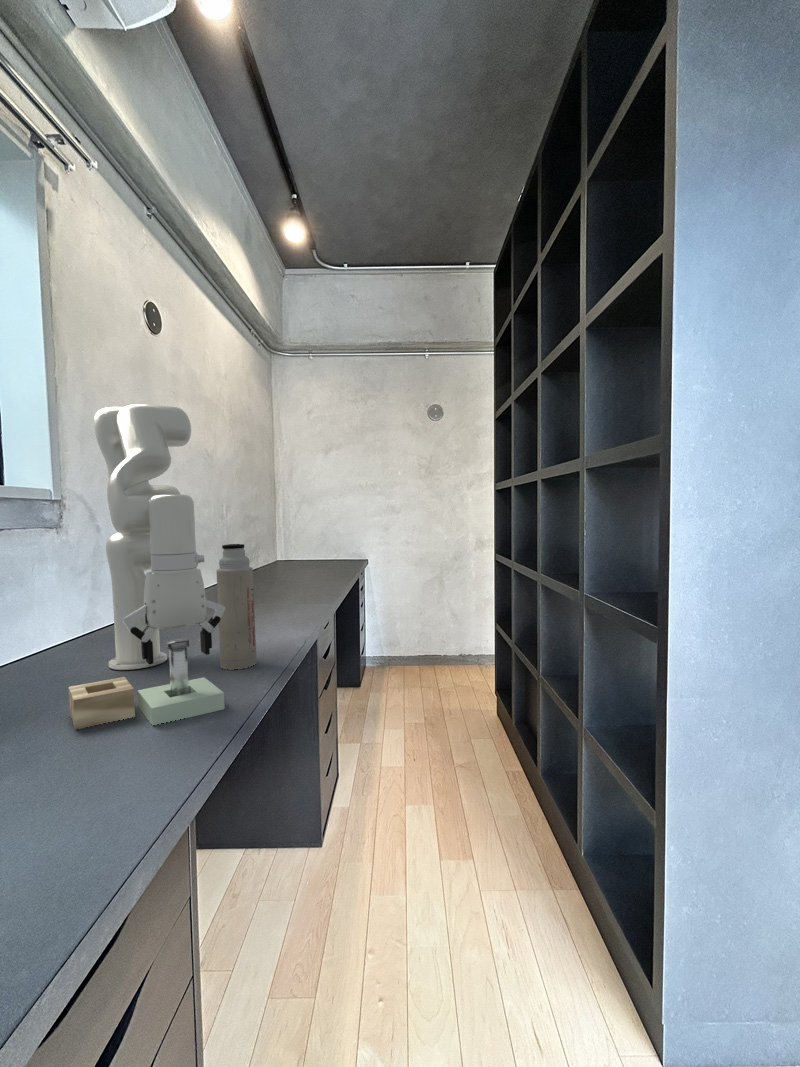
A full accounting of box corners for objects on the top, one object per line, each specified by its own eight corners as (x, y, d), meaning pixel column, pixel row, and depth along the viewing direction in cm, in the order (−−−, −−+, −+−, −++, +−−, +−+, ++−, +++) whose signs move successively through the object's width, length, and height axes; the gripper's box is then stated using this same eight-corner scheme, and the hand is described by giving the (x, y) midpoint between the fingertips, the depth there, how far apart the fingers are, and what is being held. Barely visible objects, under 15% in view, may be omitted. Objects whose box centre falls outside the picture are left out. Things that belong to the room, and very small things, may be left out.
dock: (138, 706, 101) (137, 690, 101) (204, 692, 108) (204, 677, 108) (152, 726, 91) (151, 708, 91) (224, 709, 98) (223, 692, 98)
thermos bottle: (262, 660, 130) (257, 542, 129) (246, 670, 122) (241, 544, 121) (231, 659, 132) (226, 543, 131) (213, 669, 124) (208, 545, 123)
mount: (70, 714, 98) (68, 686, 97) (125, 703, 103) (124, 676, 103) (75, 730, 90) (73, 700, 90) (135, 717, 96) (133, 688, 95)
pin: (166, 707, 100) (164, 641, 99) (188, 703, 102) (185, 637, 102) (172, 713, 97) (169, 644, 96) (194, 708, 99) (191, 641, 99)
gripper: (216, 558, 107) (219, 645, 107) (117, 565, 97) (121, 662, 97) (228, 561, 100) (232, 653, 101) (124, 569, 90) (129, 671, 91)
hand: (178, 657), depth 99 cm, fingers open, 9 cm apart
